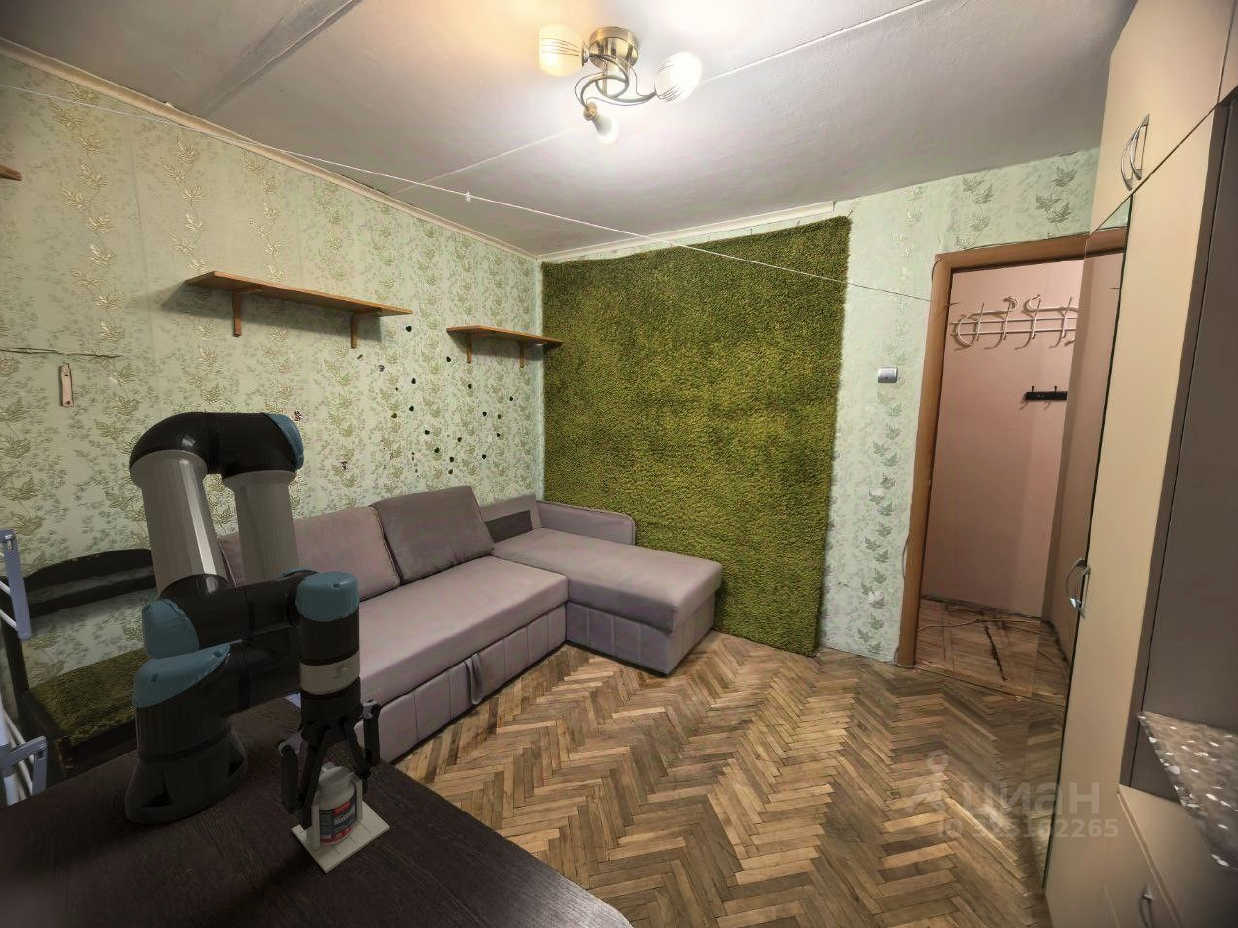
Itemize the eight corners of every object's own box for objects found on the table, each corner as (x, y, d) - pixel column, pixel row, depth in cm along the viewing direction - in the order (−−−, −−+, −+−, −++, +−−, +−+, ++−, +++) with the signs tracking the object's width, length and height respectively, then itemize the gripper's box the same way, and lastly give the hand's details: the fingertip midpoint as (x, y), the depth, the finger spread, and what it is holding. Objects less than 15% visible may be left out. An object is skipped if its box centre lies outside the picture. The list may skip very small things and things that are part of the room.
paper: (291, 831, 73) (291, 828, 72) (353, 794, 80) (353, 791, 80) (326, 872, 66) (325, 870, 66) (389, 828, 74) (389, 826, 73)
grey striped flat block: (311, 772, 84) (311, 770, 84) (330, 762, 87) (330, 760, 87) (328, 788, 81) (327, 786, 81) (346, 778, 83) (346, 776, 83)
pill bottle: (336, 850, 69) (334, 793, 68) (305, 842, 70) (303, 786, 69) (363, 820, 74) (362, 766, 73) (334, 813, 75) (332, 760, 74)
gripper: (266, 722, 60) (273, 891, 63) (405, 664, 75) (407, 803, 77) (245, 700, 65) (252, 858, 67) (380, 649, 79) (382, 781, 82)
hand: (335, 828), depth 72 cm, fingers closed on pill bottle, 5 cm apart
